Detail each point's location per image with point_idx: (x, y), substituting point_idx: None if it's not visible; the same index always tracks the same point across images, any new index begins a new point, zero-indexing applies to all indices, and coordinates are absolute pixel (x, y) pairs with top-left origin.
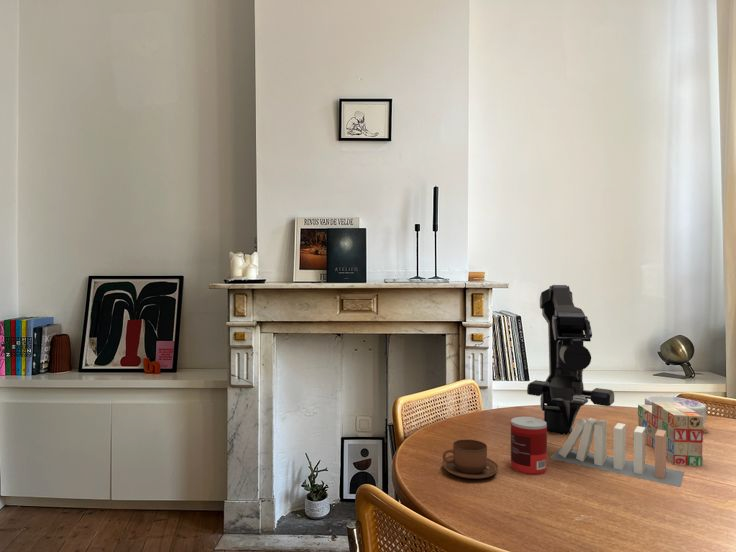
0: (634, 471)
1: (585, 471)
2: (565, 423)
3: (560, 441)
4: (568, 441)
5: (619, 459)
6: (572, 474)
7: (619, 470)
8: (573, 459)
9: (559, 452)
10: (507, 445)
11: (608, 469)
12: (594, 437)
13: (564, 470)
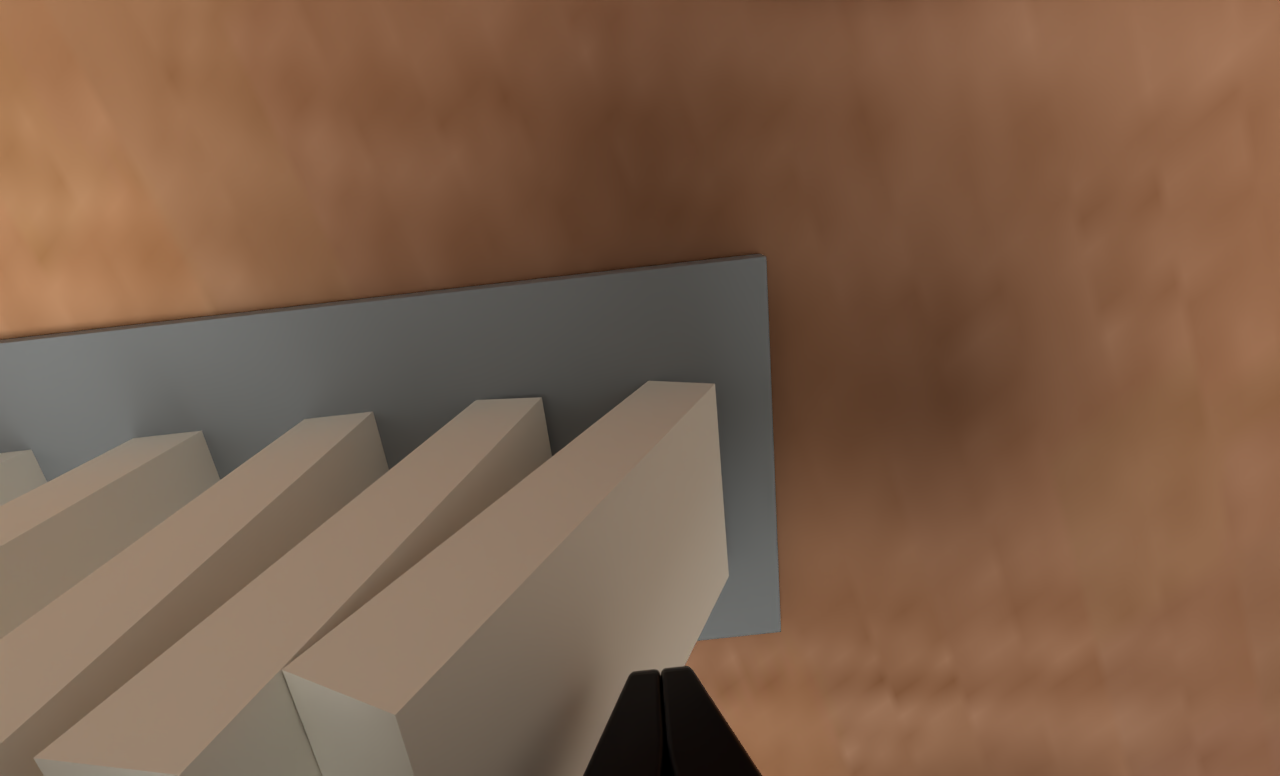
0: (11, 454)
1: (381, 224)
2: (722, 719)
3: (844, 772)
4: (612, 459)
5: (62, 480)
6: (429, 27)
7: (138, 414)
8: (570, 397)
9: (709, 388)
10: (1245, 380)
11: (212, 366)
12: (188, 577)
13: (540, 86)
